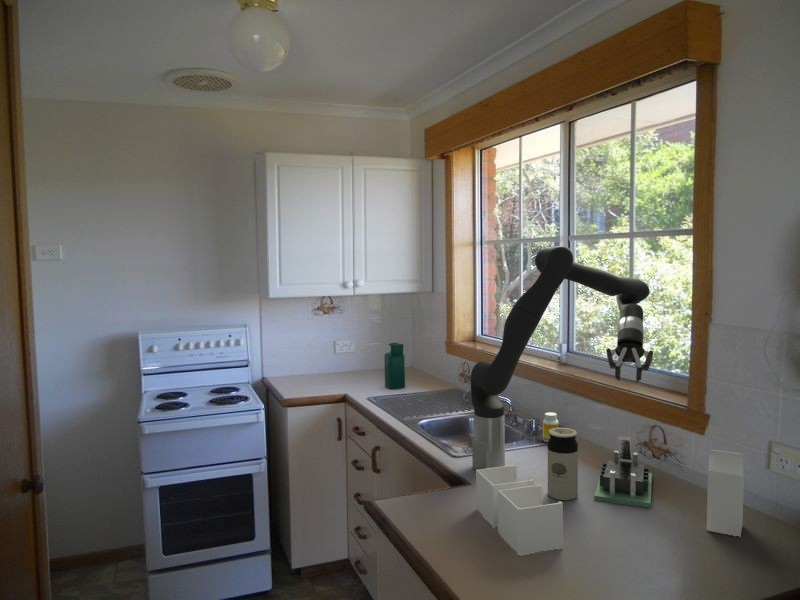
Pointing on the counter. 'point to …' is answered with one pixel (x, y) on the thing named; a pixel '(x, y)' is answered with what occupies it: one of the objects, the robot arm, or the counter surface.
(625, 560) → the counter surface
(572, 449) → the travel mug
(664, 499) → the counter surface
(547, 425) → the supplement bottle
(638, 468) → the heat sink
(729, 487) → the milk carton
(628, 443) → the retention strap
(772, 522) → the counter surface
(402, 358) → the green bottle
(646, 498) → the circuit board
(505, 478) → the white divided organizer
